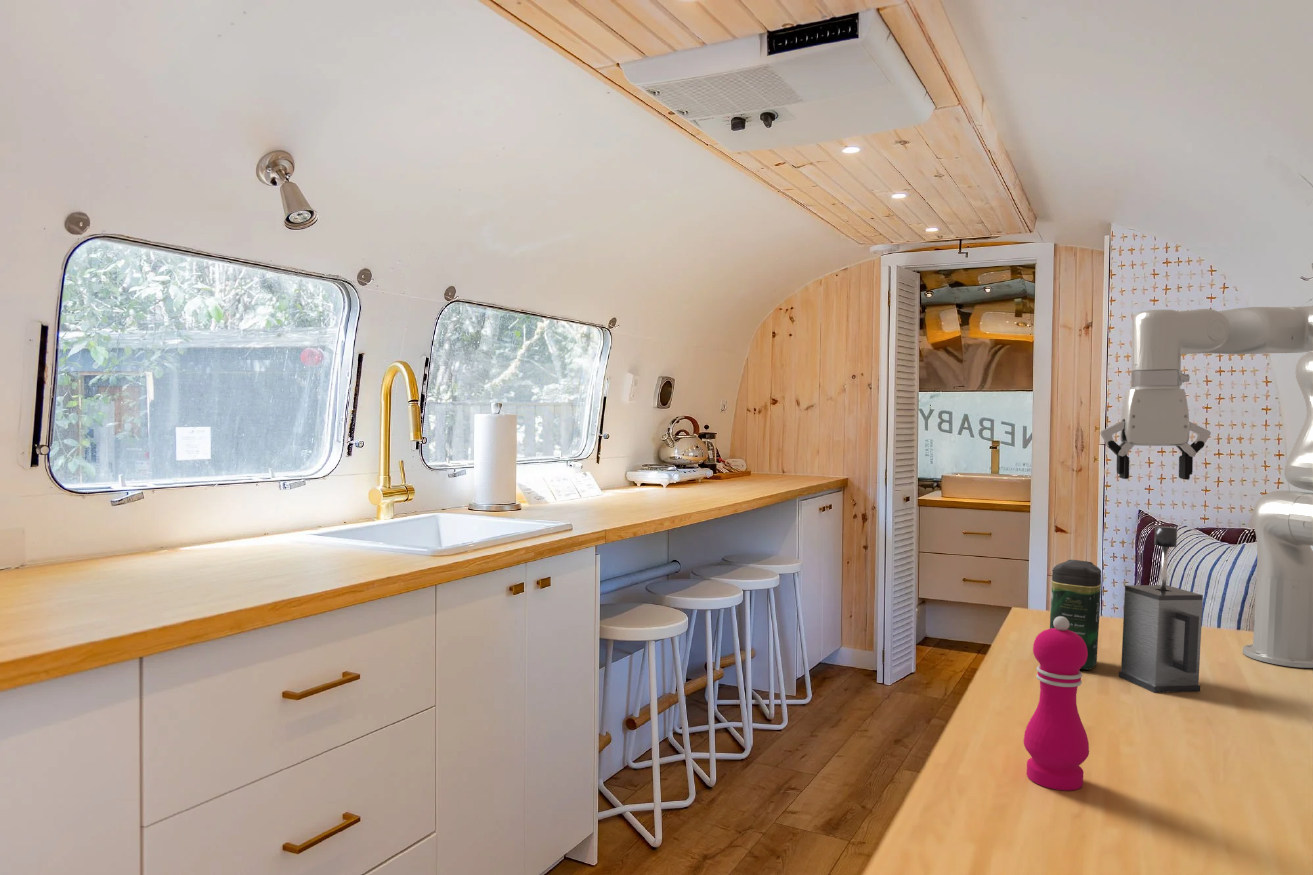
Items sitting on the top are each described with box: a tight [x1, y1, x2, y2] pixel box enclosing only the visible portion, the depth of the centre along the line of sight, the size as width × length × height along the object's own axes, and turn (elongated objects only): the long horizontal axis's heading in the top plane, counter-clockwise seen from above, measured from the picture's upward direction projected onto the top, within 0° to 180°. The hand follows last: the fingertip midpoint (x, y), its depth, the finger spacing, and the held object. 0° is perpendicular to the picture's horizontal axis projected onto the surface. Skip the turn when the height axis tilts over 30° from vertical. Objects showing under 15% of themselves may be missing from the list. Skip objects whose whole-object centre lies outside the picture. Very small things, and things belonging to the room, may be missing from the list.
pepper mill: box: [1023, 616, 1090, 792], centre depth 106 cm, size 7×7×20 cm
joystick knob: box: [1153, 525, 1178, 591], centre depth 146 cm, size 6×6×14 cm
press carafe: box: [1118, 584, 1204, 694], centre depth 145 cm, size 8×11×16 cm
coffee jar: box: [1049, 559, 1102, 671], centre depth 157 cm, size 10×8×19 cm
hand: (1153, 478), depth 155 cm, fingers open, 9 cm apart
